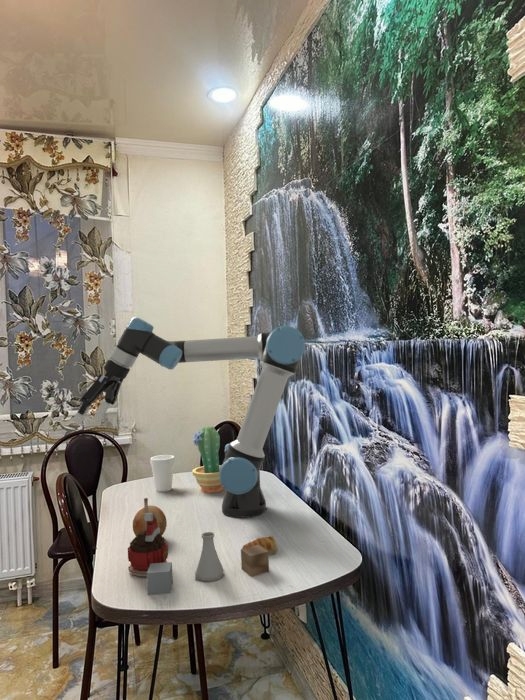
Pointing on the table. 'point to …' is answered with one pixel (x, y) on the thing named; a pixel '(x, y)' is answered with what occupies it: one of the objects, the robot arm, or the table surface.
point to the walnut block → (254, 560)
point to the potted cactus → (208, 459)
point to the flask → (209, 560)
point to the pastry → (264, 544)
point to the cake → (147, 546)
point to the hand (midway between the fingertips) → (87, 421)
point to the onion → (140, 522)
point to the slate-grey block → (159, 578)
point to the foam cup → (162, 472)
